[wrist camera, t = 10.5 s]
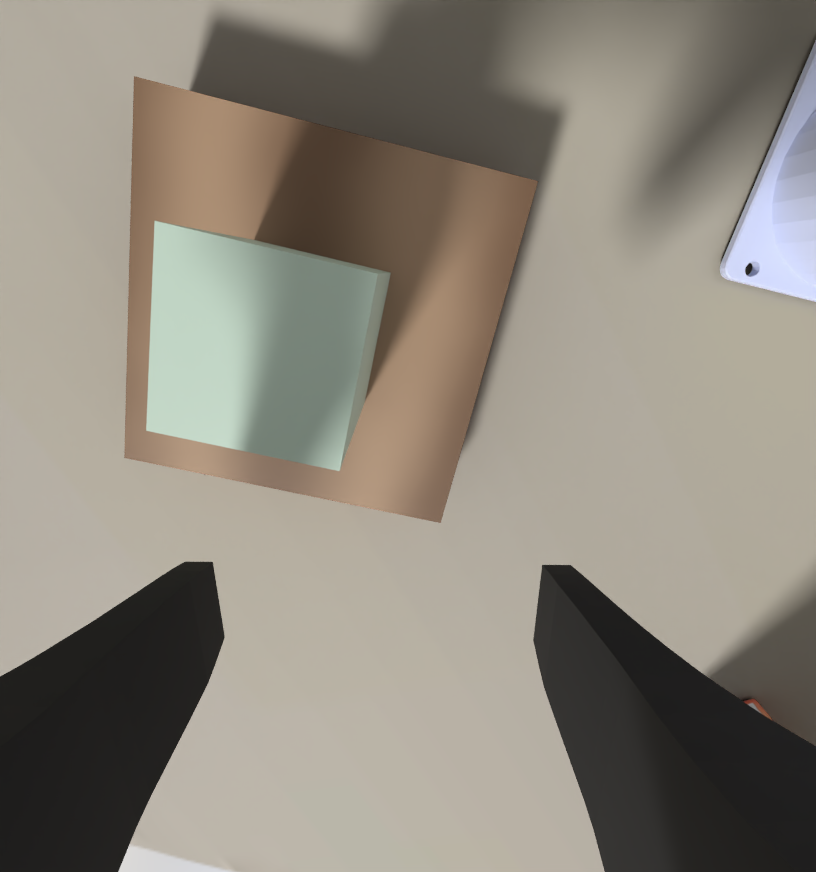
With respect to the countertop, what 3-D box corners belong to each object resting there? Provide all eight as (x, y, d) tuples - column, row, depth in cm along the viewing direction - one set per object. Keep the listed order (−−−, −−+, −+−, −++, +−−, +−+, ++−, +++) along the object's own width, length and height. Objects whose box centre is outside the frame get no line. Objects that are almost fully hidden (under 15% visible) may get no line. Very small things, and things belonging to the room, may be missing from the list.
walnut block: (517, 196, 17) (538, 181, 14) (436, 488, 21) (440, 522, 18) (182, 110, 16) (133, 76, 13) (165, 431, 20) (124, 457, 17)
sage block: (390, 272, 15) (377, 274, 9) (364, 402, 16) (339, 471, 11) (254, 240, 15) (154, 220, 9) (239, 374, 16) (146, 430, 10)
